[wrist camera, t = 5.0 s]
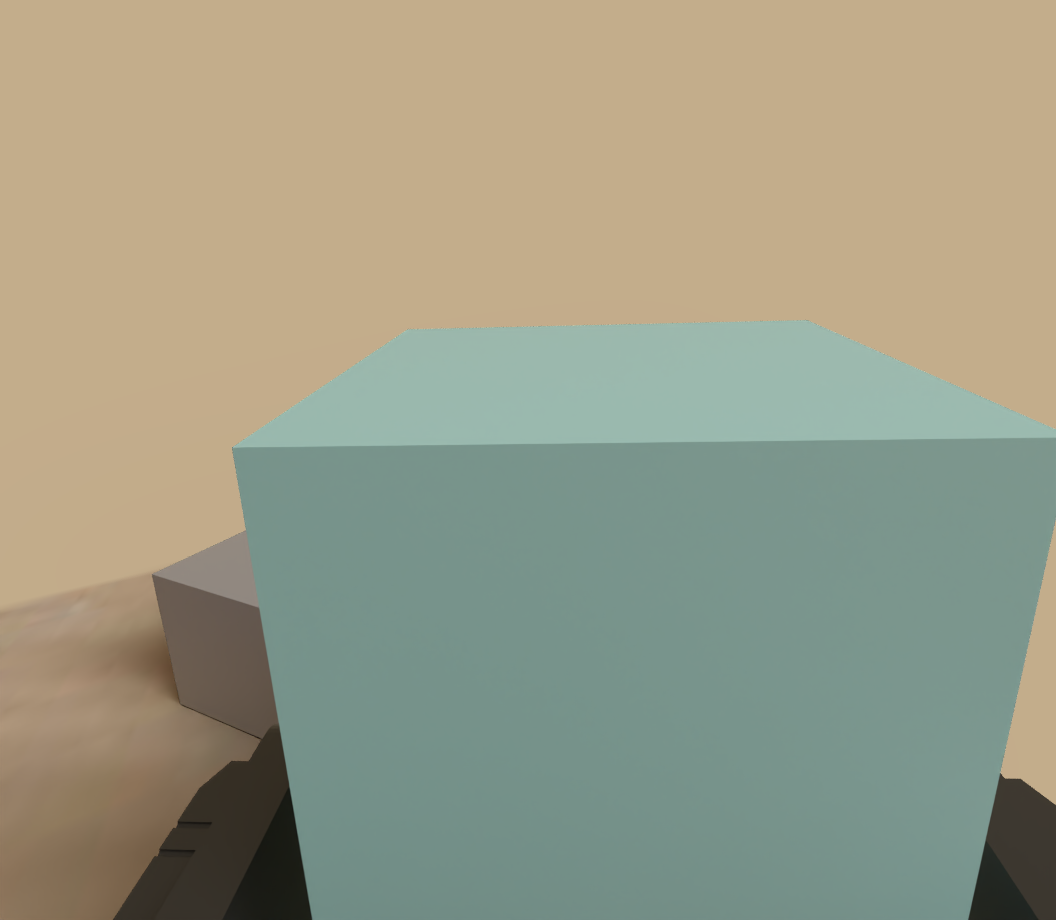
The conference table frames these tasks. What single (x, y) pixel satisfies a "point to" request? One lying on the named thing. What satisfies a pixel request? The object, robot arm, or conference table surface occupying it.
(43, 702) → the conference table surface
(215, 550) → the podium
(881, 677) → the carton
